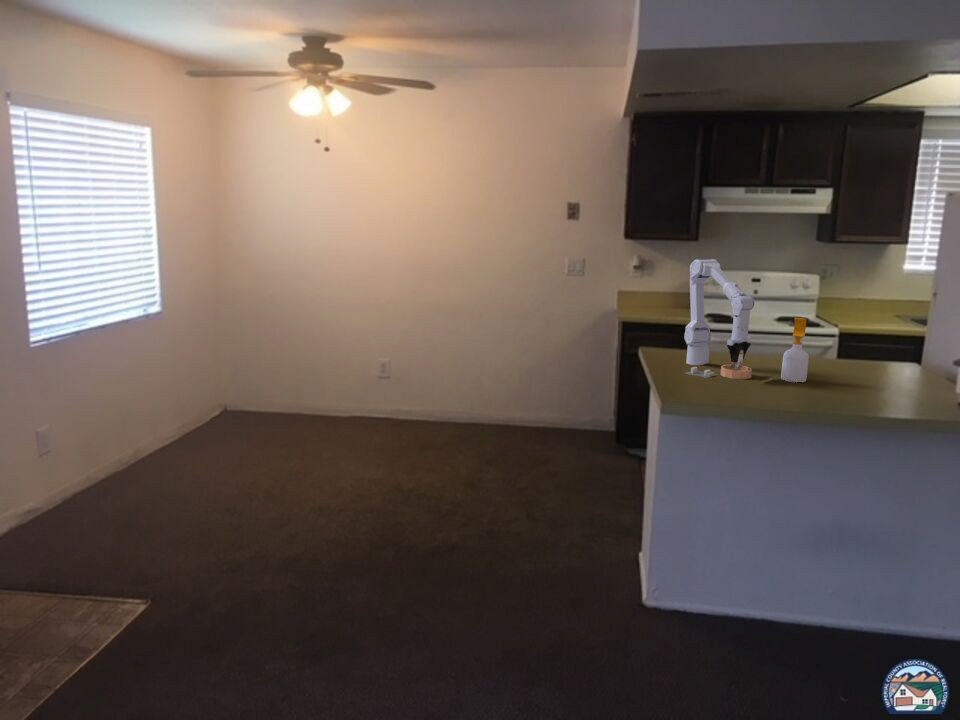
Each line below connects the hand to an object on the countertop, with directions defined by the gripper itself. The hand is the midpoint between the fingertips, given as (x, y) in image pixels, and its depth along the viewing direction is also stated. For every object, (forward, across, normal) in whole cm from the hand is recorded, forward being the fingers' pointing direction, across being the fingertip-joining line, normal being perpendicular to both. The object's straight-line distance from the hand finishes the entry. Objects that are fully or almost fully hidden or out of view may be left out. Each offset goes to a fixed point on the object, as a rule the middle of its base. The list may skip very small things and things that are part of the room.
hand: (737, 361), depth 280 cm
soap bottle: (+7, +15, -16) cm, 23 cm away
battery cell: (+2, 0, 0) cm, 2 cm away
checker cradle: (+7, -9, +10) cm, 15 cm away
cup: (+7, 0, 0) cm, 7 cm away
